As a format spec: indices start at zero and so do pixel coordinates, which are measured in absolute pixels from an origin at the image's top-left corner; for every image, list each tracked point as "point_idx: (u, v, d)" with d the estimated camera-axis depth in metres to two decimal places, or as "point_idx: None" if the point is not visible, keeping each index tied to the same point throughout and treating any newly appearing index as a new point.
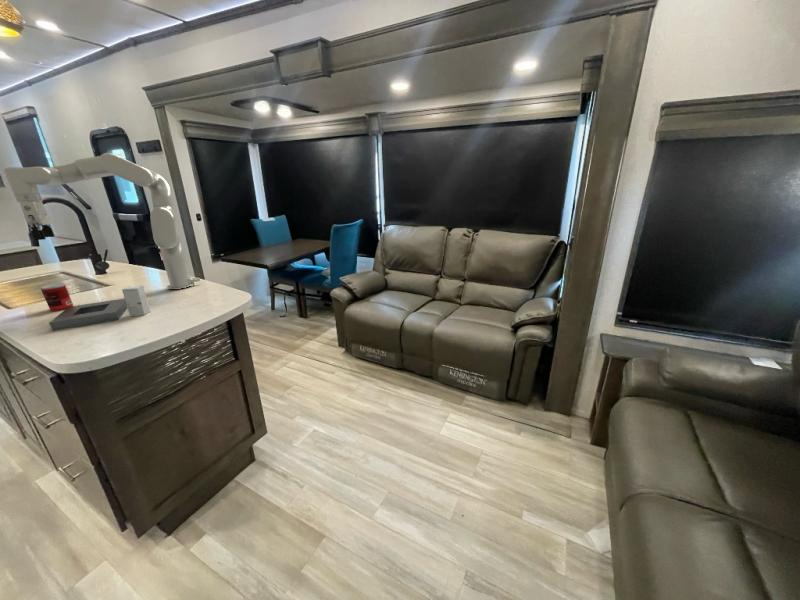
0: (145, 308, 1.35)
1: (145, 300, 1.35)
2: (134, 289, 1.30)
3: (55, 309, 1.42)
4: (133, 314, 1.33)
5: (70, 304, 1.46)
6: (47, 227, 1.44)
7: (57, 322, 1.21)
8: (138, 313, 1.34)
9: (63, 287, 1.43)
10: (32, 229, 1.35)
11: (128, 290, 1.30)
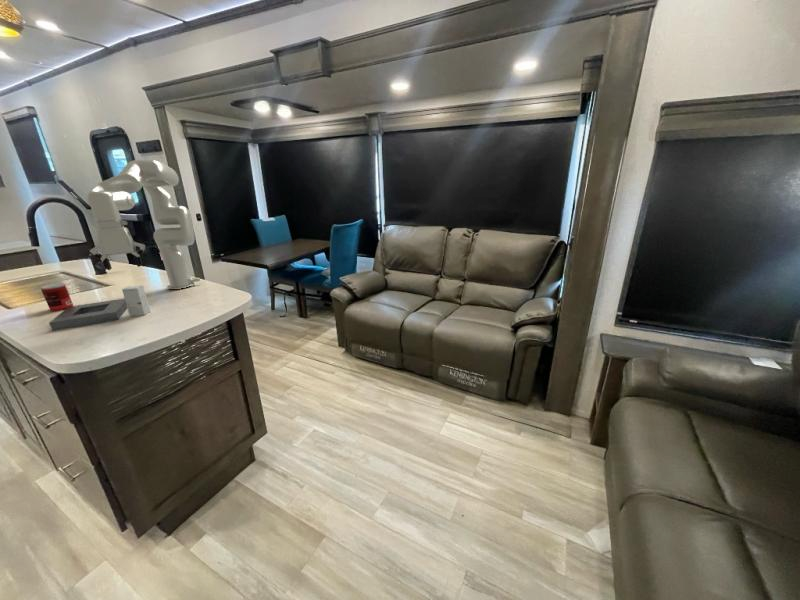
0: (145, 308, 1.35)
1: (145, 300, 1.35)
2: (134, 289, 1.30)
3: (55, 309, 1.42)
4: (133, 314, 1.33)
5: (70, 304, 1.46)
6: None
7: (57, 322, 1.21)
8: (138, 313, 1.34)
9: (63, 287, 1.43)
10: (139, 255, 1.29)
11: (128, 290, 1.30)
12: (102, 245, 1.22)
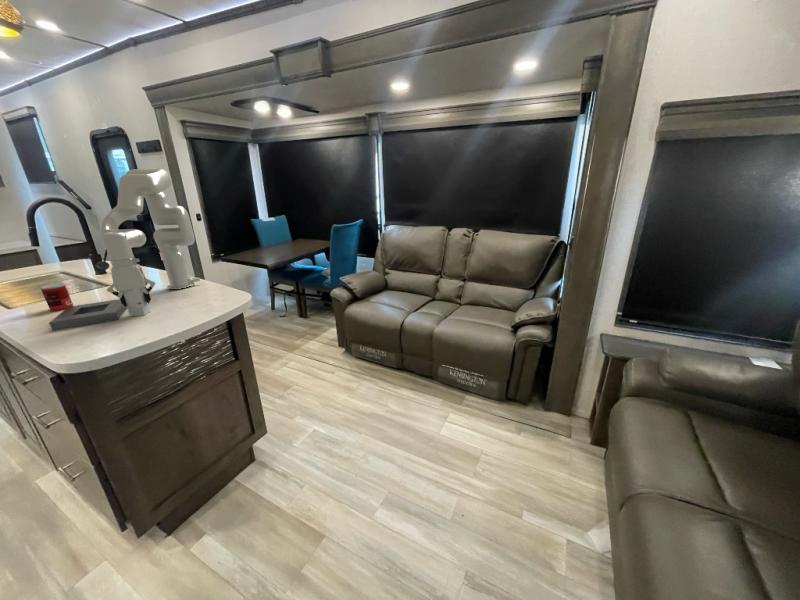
0: (145, 308, 1.35)
1: (145, 300, 1.35)
2: (134, 289, 1.30)
3: (55, 309, 1.42)
4: (133, 314, 1.33)
5: (70, 304, 1.46)
6: (123, 295, 1.32)
7: (57, 322, 1.21)
8: (138, 313, 1.33)
9: (63, 287, 1.43)
10: None
11: None
12: (116, 282, 1.27)
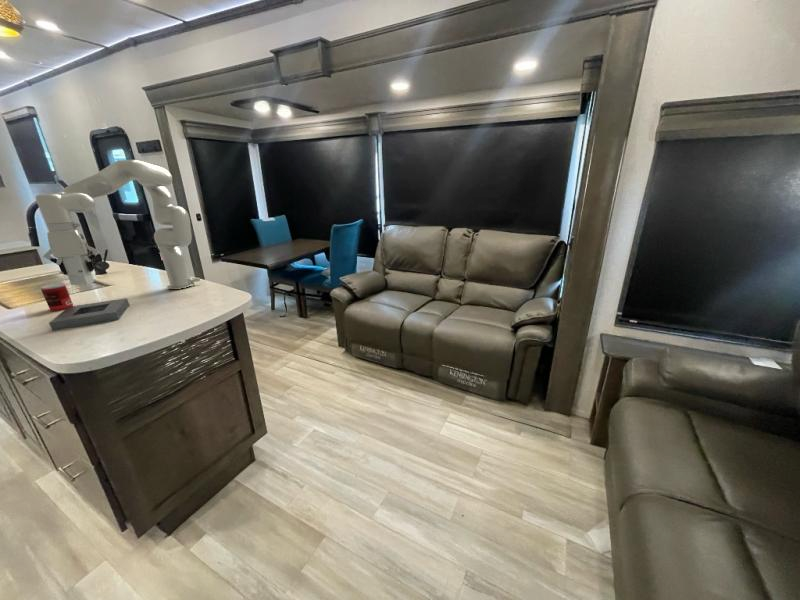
0: (87, 277, 1.28)
1: (88, 269, 1.28)
2: (74, 256, 1.24)
3: (55, 309, 1.42)
4: (74, 283, 1.27)
5: (70, 304, 1.46)
6: None
7: (57, 322, 1.21)
8: (80, 282, 1.27)
9: (63, 287, 1.43)
10: (91, 260, 1.28)
11: (67, 257, 1.23)
12: (53, 247, 1.20)
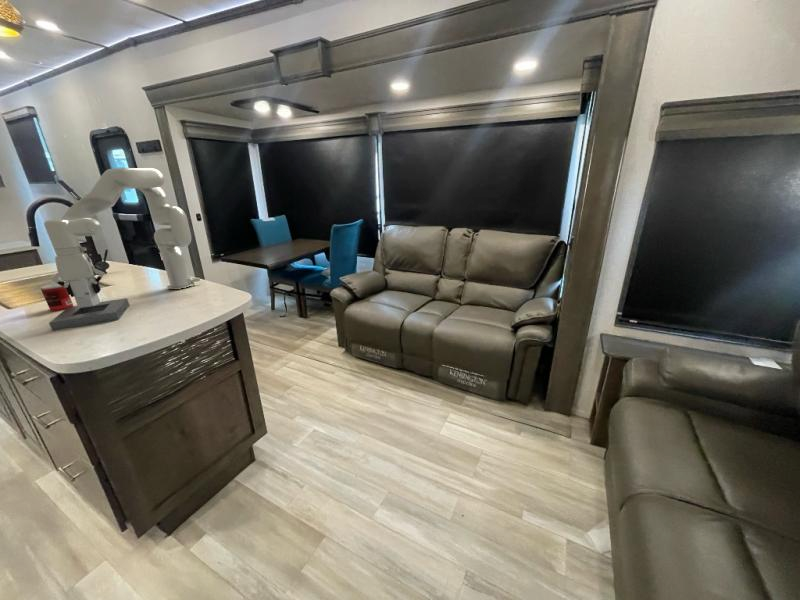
0: (93, 299, 1.31)
1: None
2: (81, 279, 1.27)
3: (55, 309, 1.42)
4: (80, 305, 1.30)
5: (70, 304, 1.46)
6: None
7: (57, 322, 1.21)
8: (86, 304, 1.30)
9: (63, 287, 1.43)
10: (97, 282, 1.31)
11: (74, 280, 1.26)
12: (61, 271, 1.23)
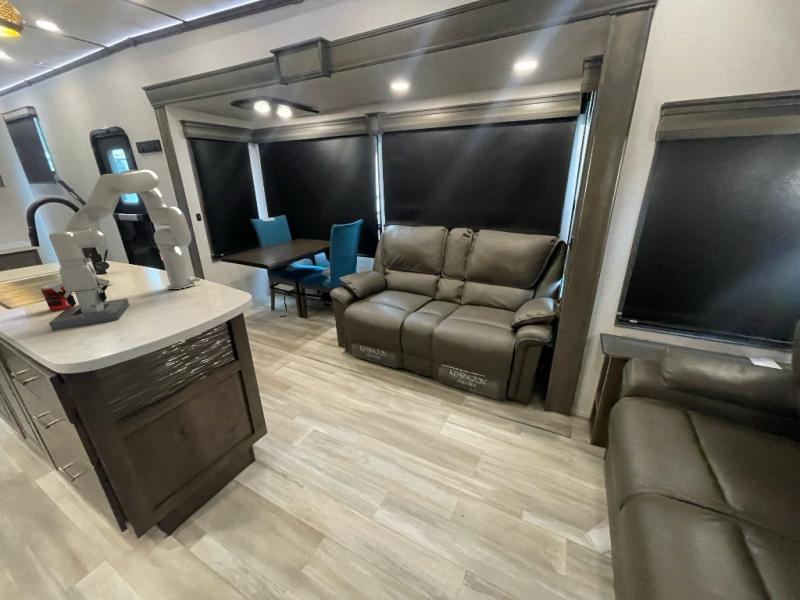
0: None
1: (100, 303, 1.34)
2: (87, 292, 1.29)
3: (55, 309, 1.42)
4: None
5: (70, 304, 1.46)
6: (71, 295, 1.29)
7: (57, 322, 1.21)
8: None
9: (63, 287, 1.43)
10: (103, 291, 1.32)
11: (81, 293, 1.29)
12: (65, 282, 1.25)
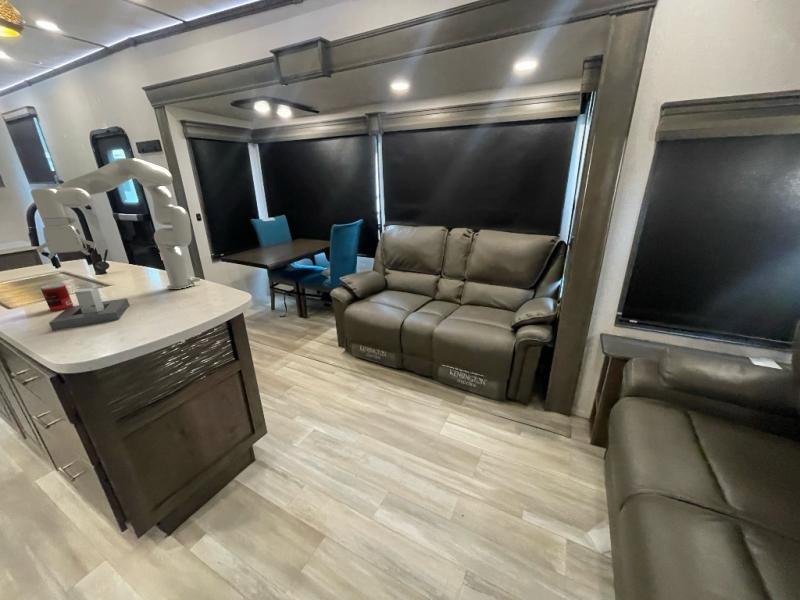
0: None
1: (100, 303, 1.34)
2: (87, 292, 1.29)
3: (55, 309, 1.42)
4: None
5: (70, 304, 1.46)
6: (55, 257, 1.23)
7: (57, 322, 1.21)
8: None
9: (63, 287, 1.43)
10: (90, 253, 1.27)
11: (81, 293, 1.29)
12: (49, 242, 1.20)
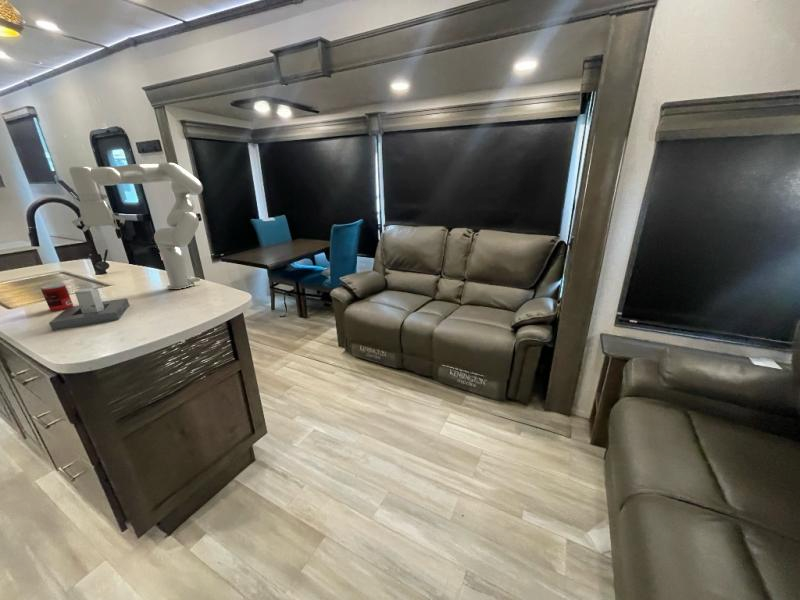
0: None
1: (100, 303, 1.34)
2: (87, 292, 1.29)
3: (55, 309, 1.42)
4: None
5: (70, 304, 1.46)
6: (88, 230, 1.35)
7: (57, 322, 1.21)
8: None
9: (63, 287, 1.43)
10: (119, 228, 1.39)
11: (81, 293, 1.29)
12: (84, 216, 1.31)
